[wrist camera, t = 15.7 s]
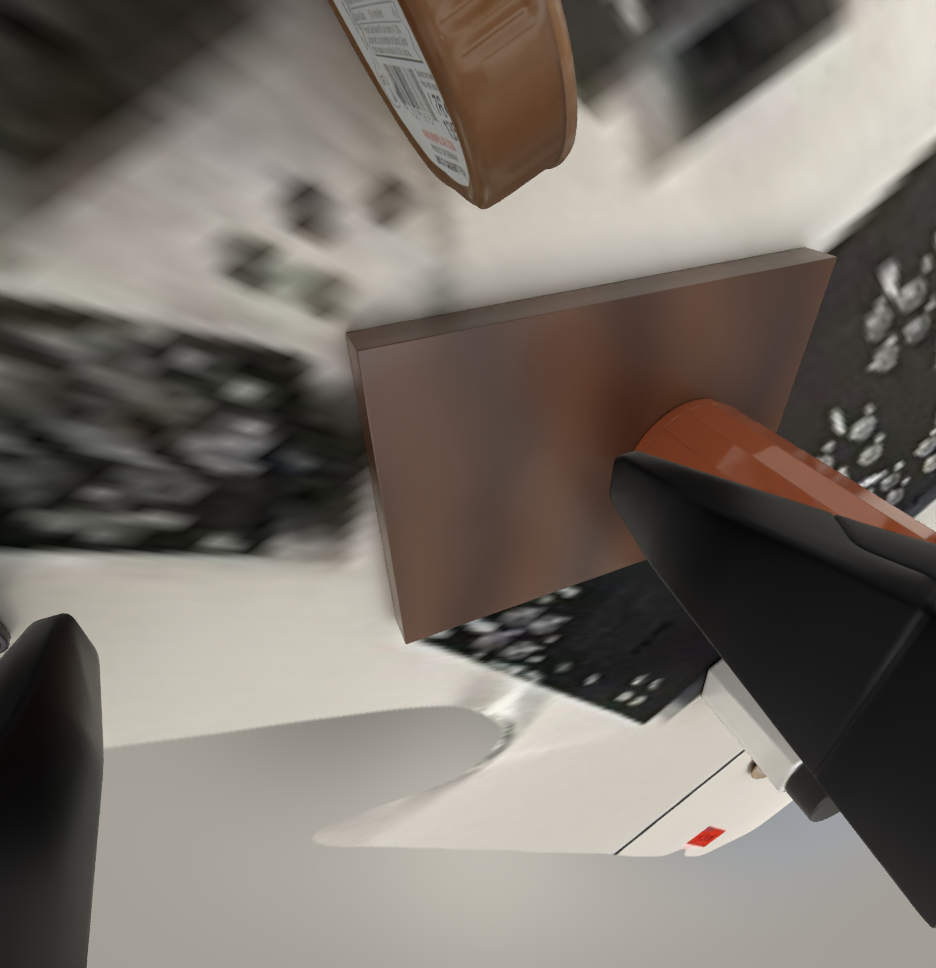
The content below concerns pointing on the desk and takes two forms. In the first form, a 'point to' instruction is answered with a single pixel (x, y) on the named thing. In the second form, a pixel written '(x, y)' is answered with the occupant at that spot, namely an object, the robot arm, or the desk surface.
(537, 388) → the board
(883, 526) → the pen cup
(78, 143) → the desk surface
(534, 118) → the tin
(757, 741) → the jar
